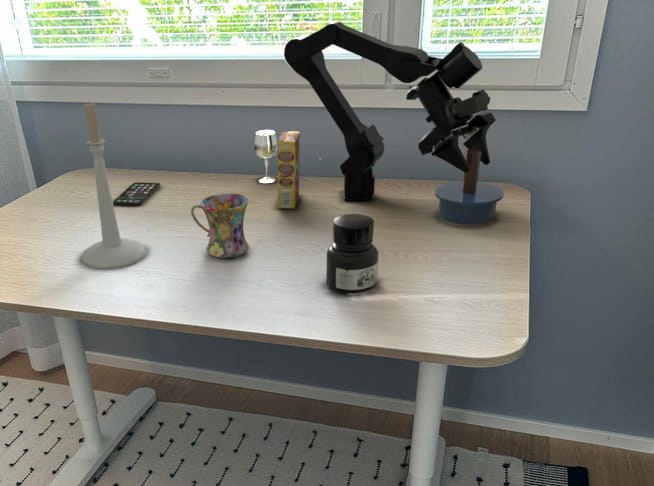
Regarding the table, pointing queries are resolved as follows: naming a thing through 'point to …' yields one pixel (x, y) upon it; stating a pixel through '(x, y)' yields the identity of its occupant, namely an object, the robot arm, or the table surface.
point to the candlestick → (107, 211)
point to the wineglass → (266, 150)
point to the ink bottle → (352, 255)
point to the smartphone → (136, 194)
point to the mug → (224, 224)
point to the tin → (466, 213)
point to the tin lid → (469, 186)
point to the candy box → (288, 169)
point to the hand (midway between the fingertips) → (478, 167)
